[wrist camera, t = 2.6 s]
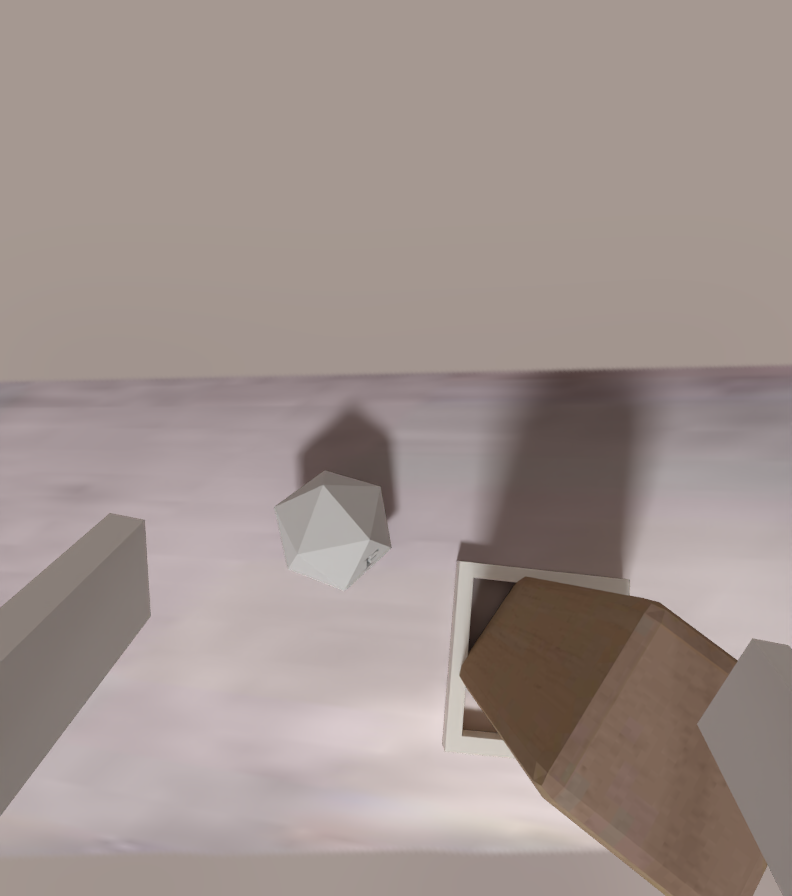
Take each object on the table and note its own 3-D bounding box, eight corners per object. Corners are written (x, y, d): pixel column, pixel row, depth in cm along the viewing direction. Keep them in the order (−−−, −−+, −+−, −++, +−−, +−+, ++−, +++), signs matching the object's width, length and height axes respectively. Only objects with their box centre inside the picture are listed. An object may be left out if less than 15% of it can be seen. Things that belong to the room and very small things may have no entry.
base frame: (620, 578, 42) (629, 579, 41) (618, 761, 39) (627, 769, 38) (456, 560, 42) (459, 561, 40) (442, 744, 39) (444, 751, 37)
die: (290, 589, 41) (353, 626, 34) (238, 505, 38) (294, 526, 31) (360, 529, 45) (430, 550, 38) (318, 449, 42) (385, 455, 35)
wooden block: (618, 644, 41) (847, 734, 21) (552, 752, 39) (738, 959, 19) (520, 570, 42) (653, 591, 22) (451, 672, 40) (531, 793, 20)
